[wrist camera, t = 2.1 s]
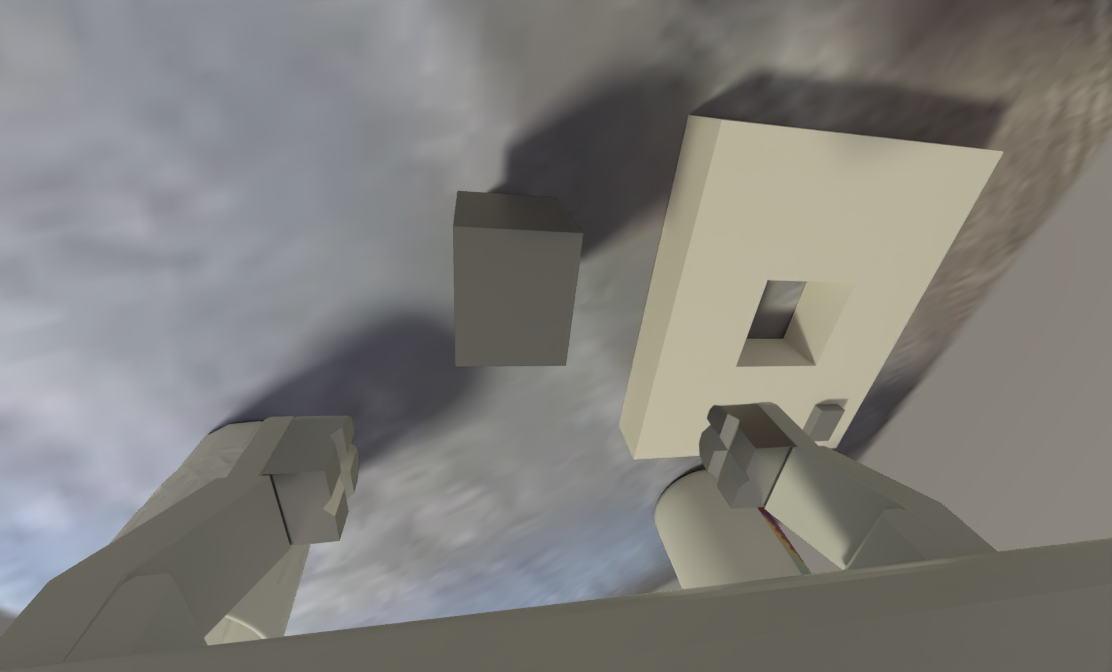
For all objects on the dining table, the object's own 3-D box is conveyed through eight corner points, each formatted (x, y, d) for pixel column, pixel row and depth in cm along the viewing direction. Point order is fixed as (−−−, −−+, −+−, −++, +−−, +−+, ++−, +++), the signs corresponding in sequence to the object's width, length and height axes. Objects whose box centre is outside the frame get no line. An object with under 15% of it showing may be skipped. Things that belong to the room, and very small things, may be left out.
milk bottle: (640, 534, 34) (806, 975, 17) (667, 464, 31) (911, 937, 14) (725, 529, 36) (953, 927, 19) (761, 463, 32) (1081, 881, 15)
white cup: (354, 429, 25) (292, 611, 16) (324, 518, 28) (259, 711, 19) (191, 395, 22) (13, 593, 13) (178, 498, 25) (27, 712, 16)
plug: (458, 180, 19) (453, 226, 13) (548, 186, 20) (583, 233, 14) (459, 285, 21) (455, 366, 15) (539, 287, 22) (565, 365, 16)
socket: (688, 115, 19) (729, 120, 16) (941, 143, 22) (1018, 153, 19) (618, 425, 28) (637, 467, 25) (805, 417, 31) (842, 454, 28)
